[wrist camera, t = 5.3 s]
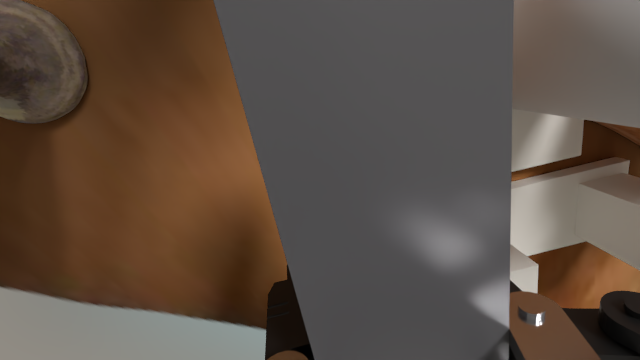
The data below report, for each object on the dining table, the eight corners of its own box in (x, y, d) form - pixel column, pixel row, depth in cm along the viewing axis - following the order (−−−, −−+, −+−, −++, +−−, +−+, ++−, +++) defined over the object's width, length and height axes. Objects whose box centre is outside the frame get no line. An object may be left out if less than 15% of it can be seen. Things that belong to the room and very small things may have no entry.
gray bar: (242, 3, 9) (185, -99, 4) (374, -24, 9) (515, -160, 4) (346, 412, 16) (384, 607, 10) (424, 391, 16) (505, 571, 10)
